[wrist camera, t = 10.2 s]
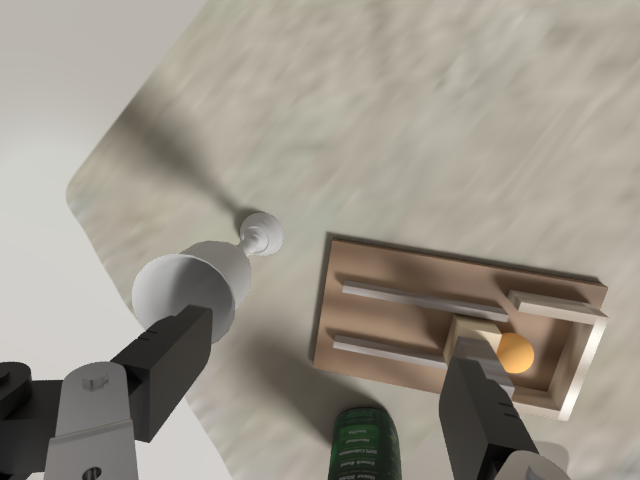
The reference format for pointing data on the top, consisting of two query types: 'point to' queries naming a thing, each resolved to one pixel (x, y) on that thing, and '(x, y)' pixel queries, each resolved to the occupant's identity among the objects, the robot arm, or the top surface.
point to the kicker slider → (477, 346)
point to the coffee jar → (365, 447)
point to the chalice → (205, 276)
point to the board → (436, 316)
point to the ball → (515, 353)
